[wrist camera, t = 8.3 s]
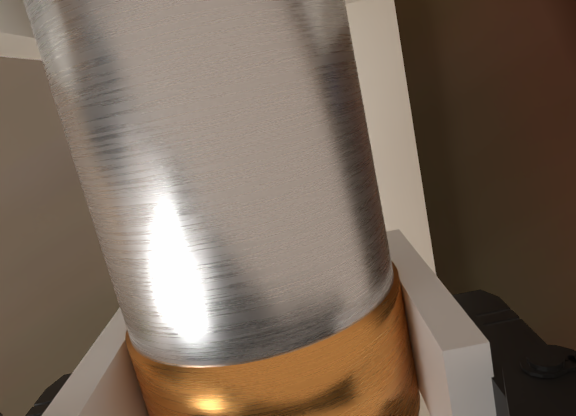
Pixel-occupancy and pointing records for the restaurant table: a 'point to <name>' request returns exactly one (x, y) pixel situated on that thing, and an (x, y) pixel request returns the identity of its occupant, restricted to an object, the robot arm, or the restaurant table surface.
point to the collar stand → (376, 99)
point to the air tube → (234, 202)
